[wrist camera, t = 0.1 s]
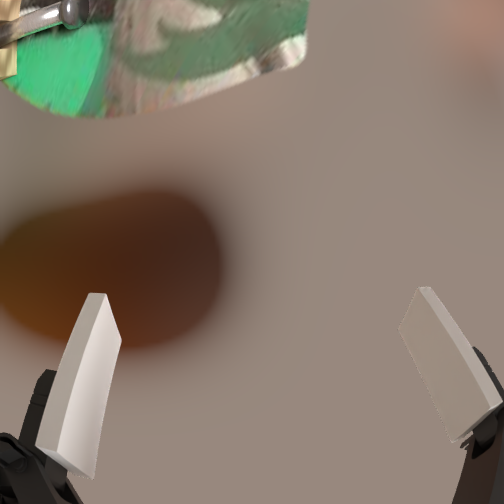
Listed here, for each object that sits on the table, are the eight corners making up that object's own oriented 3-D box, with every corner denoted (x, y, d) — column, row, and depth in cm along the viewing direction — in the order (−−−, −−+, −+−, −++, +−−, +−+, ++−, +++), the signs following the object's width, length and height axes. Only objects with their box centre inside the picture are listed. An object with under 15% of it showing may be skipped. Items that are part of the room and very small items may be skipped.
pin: (8, 21, 20) (-14, 20, 16) (90, -8, 21) (72, -16, 17) (6, 54, 23) (-17, 57, 18) (87, 29, 24) (68, 24, 20)
